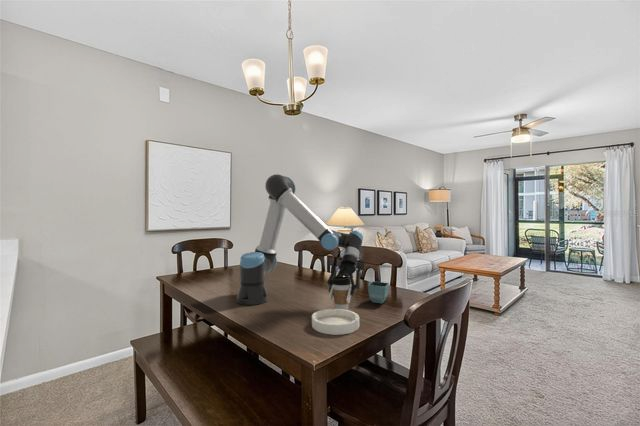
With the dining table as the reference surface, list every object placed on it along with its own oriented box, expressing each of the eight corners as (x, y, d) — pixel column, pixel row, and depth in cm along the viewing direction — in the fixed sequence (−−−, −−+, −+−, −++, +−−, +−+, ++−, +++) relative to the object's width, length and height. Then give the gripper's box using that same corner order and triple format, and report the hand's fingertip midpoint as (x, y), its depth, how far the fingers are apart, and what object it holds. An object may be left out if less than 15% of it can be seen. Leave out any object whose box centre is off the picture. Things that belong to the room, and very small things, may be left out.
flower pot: (389, 300, 154) (389, 282, 154) (385, 305, 146) (385, 286, 146) (372, 298, 158) (372, 281, 158) (367, 303, 150) (367, 284, 150)
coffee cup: (345, 314, 133) (345, 280, 133) (328, 311, 138) (328, 278, 138) (354, 309, 141) (353, 276, 140) (337, 306, 145) (337, 274, 145)
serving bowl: (325, 338, 109) (325, 328, 109) (304, 321, 126) (304, 312, 126) (368, 329, 118) (368, 320, 118) (343, 314, 134) (343, 306, 134)
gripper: (372, 264, 149) (363, 307, 134) (332, 261, 157) (319, 301, 143) (369, 254, 144) (359, 298, 129) (328, 252, 152) (315, 293, 138)
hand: (338, 300), depth 136 cm, fingers closed on coffee cup, 8 cm apart
